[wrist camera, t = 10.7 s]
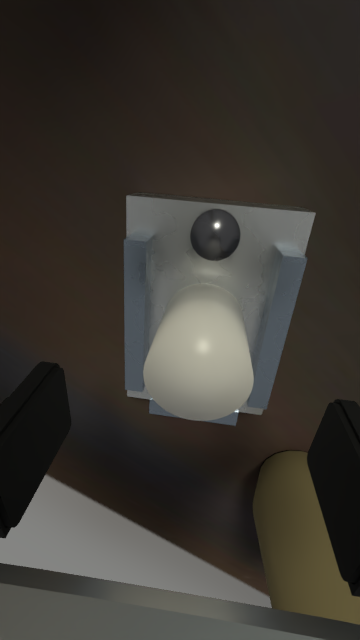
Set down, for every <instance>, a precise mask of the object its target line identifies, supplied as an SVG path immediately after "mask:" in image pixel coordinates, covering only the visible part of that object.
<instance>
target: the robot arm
mask: <svg viewBox="0 0 360 640" xmlns="http://www.w3.org/2000/svg"><path fill="white" fill-rule="evenodd" d="M70 426H71V417H70V410H69V403H68V397H67V390H66V383H65V376H64V370H63V369H62V368H60V367H59V365H58V364H57V363H50V362H40V363H38V365H37V366H36V367H35V368H34V369H33V370H32V371H31V373H30V374H29V375H28V376H27V377H26V378H25V379H24V381H23V382H22V383H21V384H20V385H19V386H18V387H17V389H16V390H15V391H14V392H13V393H12V394H11V395H10V396H9V397H7V398H6V399H5V400H4V401H3V402H2V403H1V405H0V538H6V536H7V534H8V532H9V531H10V529H11V527H16V526H17V525H18V523H19V522H20V520H21V518H22V516H23V515H24V513H25V511H26V509H27V507H28V505H29V503H30V502H31V500H32V498H33V496H34V494H35V492H36V490H37V489H38V487H39V485H40V483H41V481H42V479H43V478H44V476H45V474H46V472H47V470H48V469H49V467H50V465H51V463H52V461H53V459H54V457H55V456H56V454H57V452H58V450H59V448H60V446H61V445H62V443H63V441H64V439H65V437H66V435H67V434H68V432H69V429H70ZM307 464H308V468H309V471H310V475H311V478H312V482H313V485H314V488H315V492H316V495H317V498H318V502H319V505H320V508H321V512H322V515H323V518H324V522H325V525H326V528H327V532H328V535H329V538H330V542H331V545H332V548H333V552H334V555H335V559H336V562H337V565H338V569H339V572H340V575H341V577H342V579H343V580H344V581H346V582H348V585H349V588H350V591H351V594H352V596H357V597H360V407H359V405H358V404H357V403H356V402H355V401H348V400H340V399H336V400H335V401H334V402H333V403H329V405H328V407H327V409H326V411H325V414H324V416H323V418H322V421H321V423H320V426H319V428H318V430H317V433H316V435H315V437H314V440H313V442H312V444H311V447H310V449H309V451H308V454H307ZM0 640H360V625H359V624H354V623H349V622H344V621H339V620H333V619H328V618H323V617H318V616H312V615H307V614H301V613H295V612H289V611H284V610H278V609H272V608H267V607H261V606H255V605H250V604H243V603H238V602H233V601H227V600H221V599H215V598H209V597H204V596H198V595H192V594H186V593H180V592H174V591H168V590H162V589H156V588H151V587H145V586H139V585H133V584H126V583H121V582H115V581H109V580H103V579H97V578H91V577H85V576H79V575H73V574H67V573H61V572H54V571H49V570H43V569H36V568H29V567H23V566H16V565H9V564H2V563H0Z"/></svg>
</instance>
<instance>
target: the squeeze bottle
mask: <svg viewBox="0 0 360 640" xmlns="http://www.w3.org/2000/svg"><path fill="white" fill-rule="evenodd" d="M307 454H308V453H306V452H303V451H285V452H281V453H277V454H274V455H273V456H271V457H270V458H268V459H266V460H265V462H264V464H263V465H262V467H261V469H260V473H259V478H258V482H257V486H256V490H255V495H254V499H253V516H254V521H255V526H256V531H257V536H258V541H259V546H260V551H261V556H262V561H263V566H264V571H265V576H266V580H267V585H268V590H269V595H270V600H271V605H272V609H278V610H284V611H289V612H295V613H301V614H307V615H312V616H318V617H323V618H328V619H333V620H339V621H344V622H349V623H354V624H359V625H360V597H357V596H352V594H351V591H350V588H349V585H348V582H346V581H344V580H343V579H342V577H341V575H340V572H339V569H338V565H337V562H336V559H335V555H334V552H333V548H332V545H331V542H330V538H329V535H328V532H327V528H326V525H325V522H324V518H323V515H322V512H321V508H320V505H319V502H318V498H317V495H316V492H315V488H314V485H313V482H312V478H311V475H310V471H309V468H308V464H307Z"/></svg>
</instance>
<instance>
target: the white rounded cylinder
mask: <svg viewBox="0 0 360 640" xmlns="http://www.w3.org/2000/svg"><path fill="white" fill-rule="evenodd" d="M143 378H144V383H145V386H146V388H147V391H148V392H149V394H150V396H151V397H152V398H153V400H154V401H155V402H156V403H157V404H158V405H159V406H160V407H162V408H163V409H164V410H166V411H167V412H169V413H171V414H173V415H176V416H178V417H181V418H184V419H189V420H196V421H208V420H215V419H219V418H222V417H225V416H227V415H230V414H231V413H233V412H235V411H236V410H237V409H239V408H240V407H241V406H242V405H243V404H244V403H245V402H246V400H247V399H248V397H249V395H250V393H251V391H252V388H253V382H254V375H253V369H252V363H251V358H250V352H249V346H248V340H247V335H246V329H245V323H244V317H243V312H242V309H241V306H240V304H239V302H238V301H237V299H236V298H235V297H234V296H233V295H232V294H231V293H230V292H228V291H227V290H225V289H224V288H221V287H219V286H216V285H213V284H205V283H201V284H193V285H190V286H187V287H185V288H183V289H181V290H180V291H178V292H177V293H176V294H175V295H174V296H173V297H172V298H171V299H170V301H169V302H168V304H167V307H166V309H165V312H164V314H163V317H162V319H161V322H160V324H159V327H158V330H157V332H156V335H155V337H154V340H153V343H152V345H151V348H150V350H149V353H148V355H147V358H146V361H145V364H144V370H143Z"/></svg>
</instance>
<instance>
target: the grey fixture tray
mask: <svg viewBox="0 0 360 640" xmlns="http://www.w3.org/2000/svg"><path fill="white" fill-rule="evenodd" d="M126 215H127V237H126V238H125V239H124V321H125V390H127V396H129V397H136V398H143V399H150V405H149V413H150V414H157V415H164V416H171V417H178V416H176V415H173V414H171V413H169V412H167V411H166V410H164V409H163V408H162V407H160V406H159V405H158V404H157V403H156V402H155V401H154V400H153V398H152V397H151V396H150V394H149V392H148V391H147V388H146V386H145V383H144V378H143V370H144V364H145V361H146V358H147V355H148V353H149V350H150V348H151V345H152V343H153V340H154V337H155V335H156V332H157V330H158V327H159V324H160V322H161V319H162V317H163V314H164V312H165V309H166V307H167V304H168V302H169V301H170V299H171V298H172V297H173V296H174V295H175V294H176V293H177V292H178V291H180V290H181V289H183V288H185V287H187V286H190V285H193V284H201V283H205V284H213V285H216V286H219V287H221V288H224V289H225V290H227V291H228V292H230V293H231V294H232V295H233V296H234V297H235V298H236V299H237V301H238V302H239V304H240V306H241V309H242V312H243V317H244V323H245V329H246V335H247V340H248V346H249V352H250V358H251V363H252V369H253V375H254V382H253V388H252V391H251V393H250V395H249V397H248V399H247V400H246V402H245V403H244V404H243V405H242V406H241V407H240V408H239V409H237V410H236V411H235V412H233V413H231V414H230V415H227V416H225V417H222V418H219V419H215V420H208V421H206V422H213V423H220V424H227V425H234V426H236V422H237V417H238V413H239V412H243V413H250V414H258V415H262V412H263V409H267V405H268V401H269V398H270V394H271V390H272V387H273V383H274V379H275V376H276V372H277V368H278V365H279V361H280V357H281V354H282V350H283V346H284V343H285V339H286V335H287V332H288V328H289V324H290V321H291V317H292V313H293V310H294V306H295V302H296V299H297V295H298V291H299V288H300V284H301V280H302V277H303V273H304V269H305V266H306V262H307V257H306V256H305V255H304V254H305V251H306V247H307V243H308V239H309V236H310V232H311V228H312V224H313V221H314V217H315V212H312V211H310V210H307V209H305V208H302V207H295V206H284V205H273V204H262V203H251V202H241V201H230V200H219V199H208V198H197V197H186V196H175V195H164V194H153V193H142V192H139V193H134V194H130V195H126ZM178 418H181V417H178Z"/></svg>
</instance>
